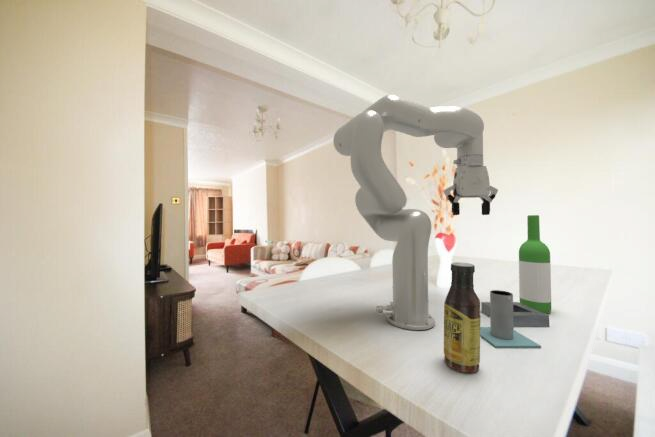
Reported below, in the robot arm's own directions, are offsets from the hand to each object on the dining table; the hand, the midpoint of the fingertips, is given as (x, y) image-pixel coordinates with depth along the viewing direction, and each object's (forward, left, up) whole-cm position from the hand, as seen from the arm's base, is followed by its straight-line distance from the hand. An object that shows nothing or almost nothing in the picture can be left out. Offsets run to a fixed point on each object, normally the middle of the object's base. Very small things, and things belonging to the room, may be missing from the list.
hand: (470, 214), depth 83 cm
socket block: (+6, -10, -30) cm, 32 cm away
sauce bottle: (-21, -34, -31) cm, 50 cm away
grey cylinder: (-5, -22, -30) cm, 38 cm away
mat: (-5, -22, -30) cm, 38 cm away
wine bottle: (+18, -3, -31) cm, 36 cm away
